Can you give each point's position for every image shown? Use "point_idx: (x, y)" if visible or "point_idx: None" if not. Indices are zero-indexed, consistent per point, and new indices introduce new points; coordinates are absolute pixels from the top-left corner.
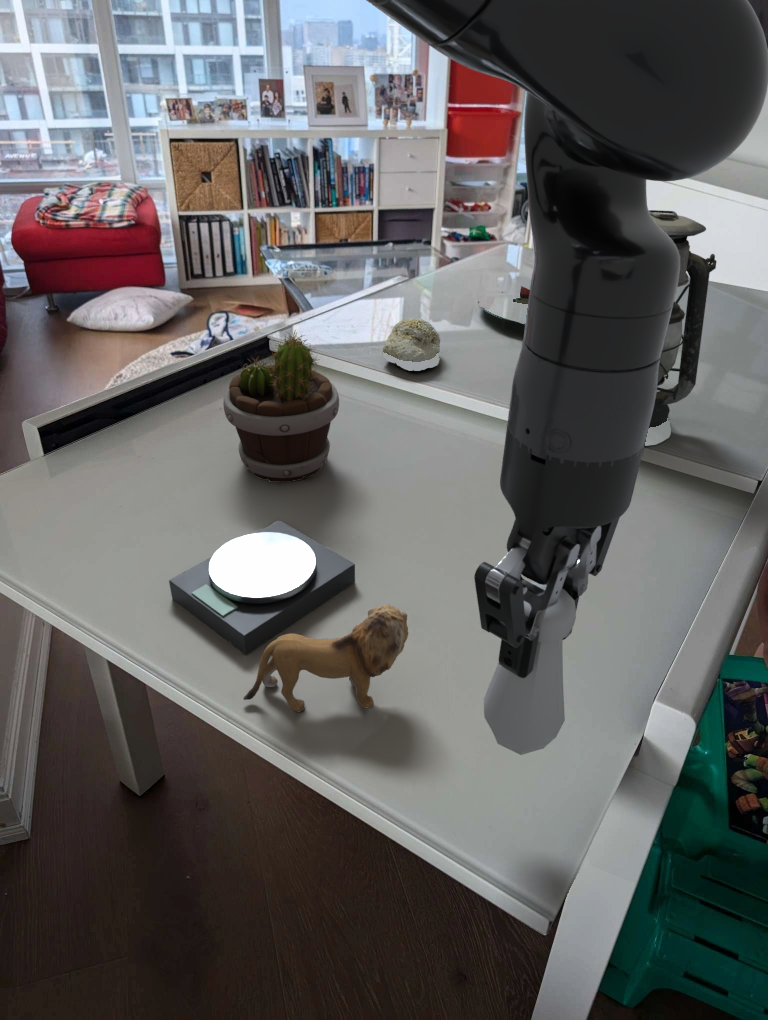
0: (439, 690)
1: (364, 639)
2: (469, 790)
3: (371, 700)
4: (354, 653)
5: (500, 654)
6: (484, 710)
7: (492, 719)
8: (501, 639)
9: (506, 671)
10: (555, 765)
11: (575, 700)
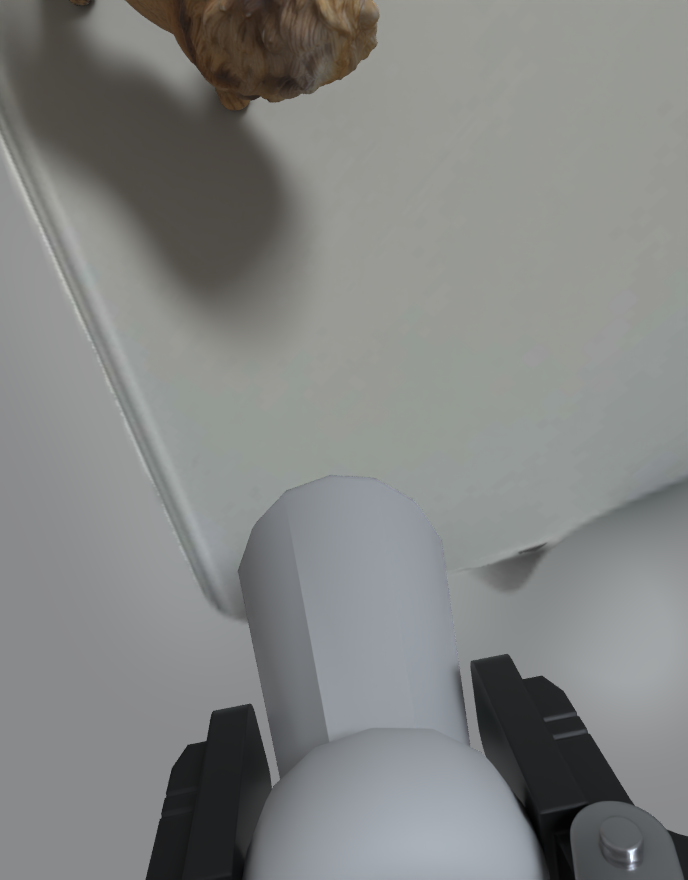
0: (402, 176)
1: (205, 5)
2: (276, 415)
3: (242, 100)
4: (176, 14)
5: (167, 797)
6: (253, 531)
7: (242, 572)
8: (197, 792)
9: (269, 657)
10: (445, 470)
11: (606, 387)
